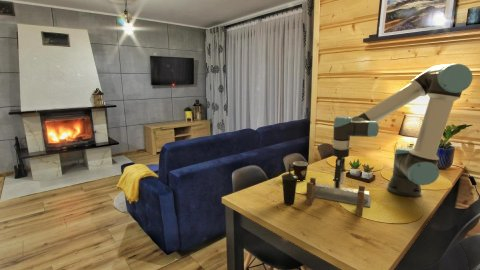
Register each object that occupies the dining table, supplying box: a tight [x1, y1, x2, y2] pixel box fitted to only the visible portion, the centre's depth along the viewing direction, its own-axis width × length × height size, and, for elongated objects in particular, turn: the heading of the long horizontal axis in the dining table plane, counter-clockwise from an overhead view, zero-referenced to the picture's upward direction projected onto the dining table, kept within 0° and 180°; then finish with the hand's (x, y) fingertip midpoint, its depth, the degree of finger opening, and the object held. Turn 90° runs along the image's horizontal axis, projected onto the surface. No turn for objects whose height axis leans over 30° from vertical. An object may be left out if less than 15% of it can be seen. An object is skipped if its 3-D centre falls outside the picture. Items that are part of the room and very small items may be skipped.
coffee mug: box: [288, 160, 309, 182], centre depth 155 cm, size 12×9×10 cm
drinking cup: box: [281, 163, 298, 206], centre depth 124 cm, size 8×8×20 cm
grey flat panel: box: [315, 193, 372, 208], centre depth 133 cm, size 30×12×1 cm, turn 62°
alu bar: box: [315, 182, 370, 202], centre depth 132 cm, size 28×4×4 cm, turn 62°
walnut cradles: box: [305, 177, 366, 217], centre depth 121 cm, size 24×8×11 cm, turn 62°
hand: (338, 188), depth 132 cm, fingers open, 13 cm apart
